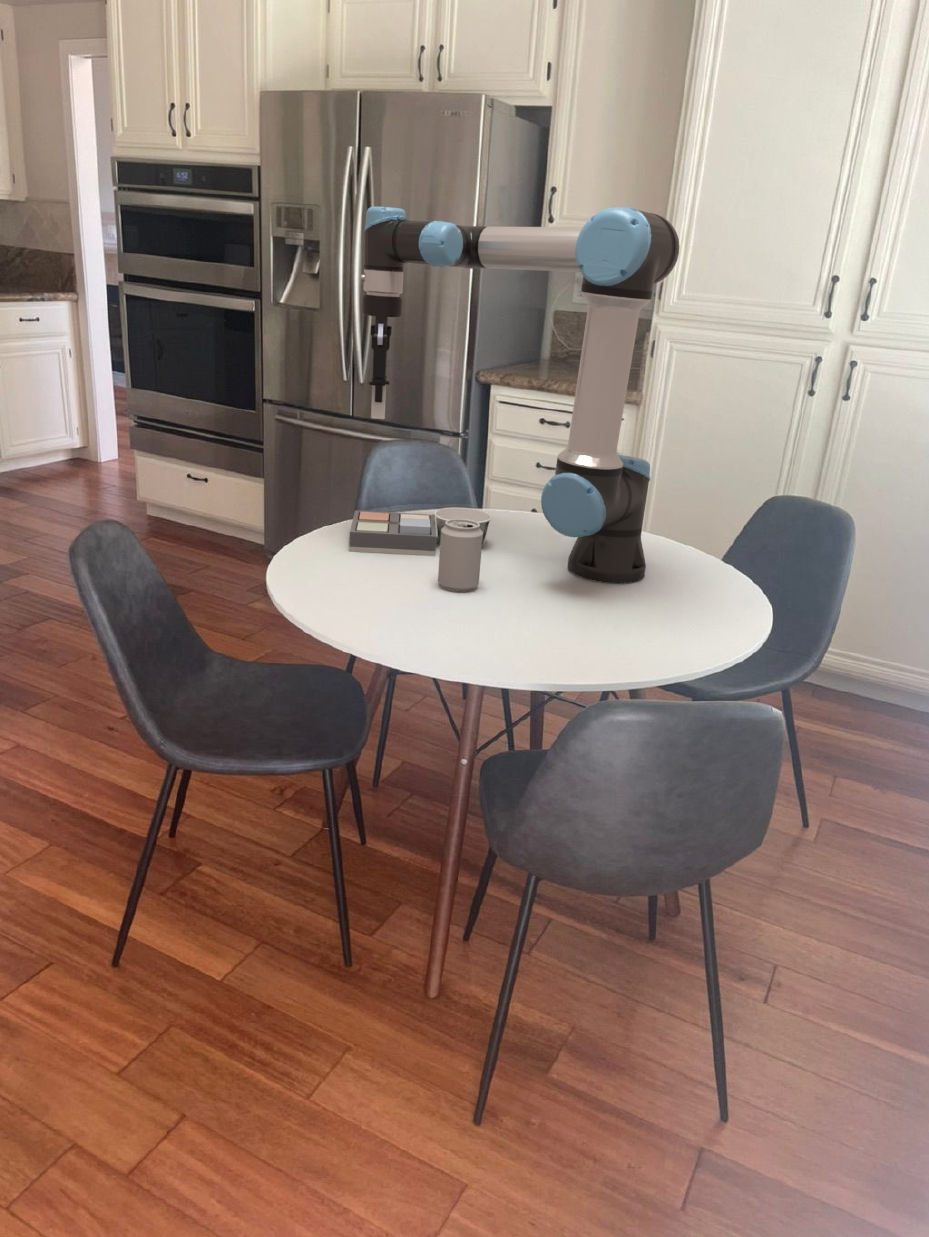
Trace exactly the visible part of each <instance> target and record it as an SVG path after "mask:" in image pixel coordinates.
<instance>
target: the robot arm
mask: <svg viewBox="0 0 929 1237" xmlns="http://www.w3.org/2000/svg"><path fill="white" fill-rule="evenodd" d="M365 214H366V215H365V225H364V230H363V233H364V264H363V270H364V271H363V273H364V274H360V280H363V292H366V294H364V295H363V296H362V313H363V315H365V316H369V317H371V316H372V317H375V320H374V321H375V323H374V324H371V326H370V335H371V349H372V350H373V356H372V357H373V358H372V360H373V361H372V378H371V381H368V385H369V386H371V411H370V419H373V420H374V419H375V420H377V419H379V420H386V401H387V400H386V398H387V397H386V396H387V395H386V394H387V385H388V386H389V385H390V380H387V377H388V376H387V364H388V360H387V359H388V351H389V349H390V347H391V346H390V345H391V344H390V341H391V335H392V329H393V328H392V326H390V325H388V321H389V318H400V317H401V316H402V307H403V298H402V297H401V296H400V295H402V294H403V292H404V291H403V290H404V266H405V264H414V265H422V266H423V265H424V266H432V267H434V268H437V267H440V268H442V267H452V268H453V267H455V268H465V269H472V270H474V269H475V270H477V269H494V270H495V269H496V270H497V269H498V270H501V269H502V270H518V271H519V270H520V271H521V270H525V271H526V270H527V271H547V272H550V271H551V272H571V273H572V272H575V273H581V275H582V282H581V288H580V289H581V290H580V294H581V296H582V297H583V298H584V300H585V301H586V304H587V311H586V319H585V326H584V334H583V339H582V346H581V352H580V360H579V366H578V374H577V381H576V388H575V394H574V401H573V402H574V403H573V406H572V407H573V408H572V409H573V410H572V414H571V421H570V427H569V428H570V429H569V436H568V443H567V447H566V448H565V449H564V450H562V451H561V452H559V453H558V454H557V458H556V466H555V472H554V475H553V476H552V477H551V478H550V479H549V480H548V481H547V482H546V484H545V485H544V487H543V489H542V492H541V497H540V503H541V510H542V513H543V515H544V517H545V520H547V522H548V523H549V525H550V526H551V528H553V529H554V530H555V531H556V532H558V533H559V534H561V535H563V536H565V537H569V538H576V539H575V542H574V545H573V546H572V549H571V551H570V553H569V555H568V560H567V570H568V571H569V572H570V573H571V574H573V575H575V576H577V577H579V578H582V579H585V580H589V581H594V582H599V583H606V584H631V583H636V582H640V581H642V580H644V578H645V576H646V568H647V566H646V565H647V563H646V559H645V553H644V548H643V542H642V530H643V524H644V519H645V518H644V517H645V511H646V505H647V498H648V491H649V484H650V481H651V477H650V474H651V464H650V463H649V461H647V460H646V459H643V458H639V457H634V456H629V455H623V454H619V453H618V452H617V450H618V446H619V439H620V434H621V429H622V428H621V426H622V420H623V414H624V409H625V402H626V396H627V390H628V385H629V378H630V373H631V366H632V360H633V356H634V354H633V353H634V348H635V347H634V346H635V342H636V338H637V337H636V336H637V331H638V324H639V318H640V312H641V310H642V309H643V308H644V307H646V306H647V305H648V304H649V303H651V302H652V296H653V291H654V285H656V284H658V283H660V282H661V281H663V280H664V279H666V277H667V278H668V276H669V275H670V273H671V272H672V271H673V270H674V268H675V266H676V264H677V262H678V258H679V255H680V239H679V236H678V233H677V231H676V229H675V227H674V225H672V223H671V222H670V221H669V220H667V218H665V217H664V216H662V215H658V214H656V213H652V212H648V211H647V212H646V211H644V210H639V209H637V208H632V207H628V206H624V207H622V206H621V207H615V206H614V207H609V208H605V209H602V210H599V211H598V212H597V213H595V214H594V215H593V216H591V217H590V219H587V220H586V222H585V224H583V226H581V227H579V226H575V227H574V226H565V227H564V226H486V225H483V226H482V225H481V226H479V225H475V226H472V225H460V224H459V225H458V224H455V223H453V222H447V221H443V220H442V221H441V220H433V221H432V220H411V219H407V213H406V211H405V209H403V208H398V207H390V206H370V207H369V208H367V210H366V213H365Z"/></svg>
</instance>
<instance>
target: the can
mask: <svg viewBox="0 0 929 1237" xmlns="http://www.w3.org/2000/svg"><path fill="white" fill-rule="evenodd" d="M445 524H446V525H445V526H444V527H443V528H442V529H441V540H440V545H439V559H438V575H437V582H438V584H439V585H441V587H442V588H443V589H445V590H447V591H452V592H460V593H463V592H470V591H472V590H475V588H476V587H478V586H479V585H480V575H481V574H480V572H481V560H482V549H483V548H482V538H483V532H482V531H481V529H480V528H479V527H480V524H479V523H478V522H476V521H473V520H468V519H450V520H447V521H446V522H445Z"/></svg>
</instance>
